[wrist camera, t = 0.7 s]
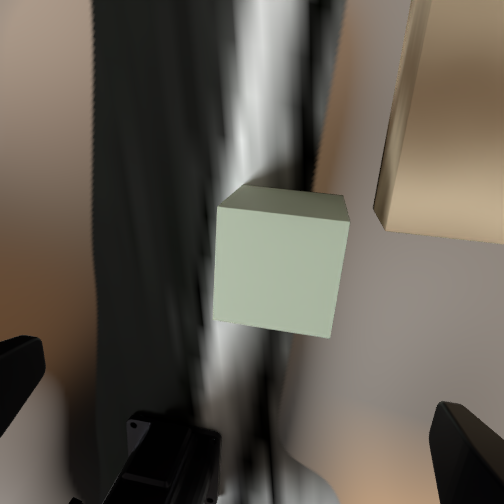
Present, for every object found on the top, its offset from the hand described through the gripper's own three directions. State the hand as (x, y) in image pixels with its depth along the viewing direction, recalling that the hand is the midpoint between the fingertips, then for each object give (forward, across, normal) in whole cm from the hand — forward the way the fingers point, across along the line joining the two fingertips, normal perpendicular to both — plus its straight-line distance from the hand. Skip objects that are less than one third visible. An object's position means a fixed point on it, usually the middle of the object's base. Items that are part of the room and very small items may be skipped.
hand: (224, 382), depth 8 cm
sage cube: (+12, 0, 0) cm, 12 cm away
